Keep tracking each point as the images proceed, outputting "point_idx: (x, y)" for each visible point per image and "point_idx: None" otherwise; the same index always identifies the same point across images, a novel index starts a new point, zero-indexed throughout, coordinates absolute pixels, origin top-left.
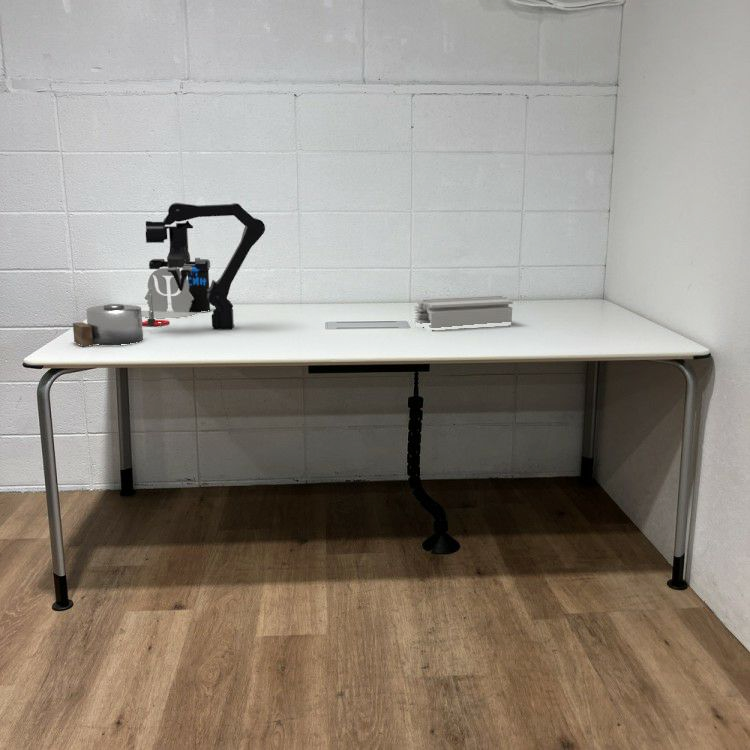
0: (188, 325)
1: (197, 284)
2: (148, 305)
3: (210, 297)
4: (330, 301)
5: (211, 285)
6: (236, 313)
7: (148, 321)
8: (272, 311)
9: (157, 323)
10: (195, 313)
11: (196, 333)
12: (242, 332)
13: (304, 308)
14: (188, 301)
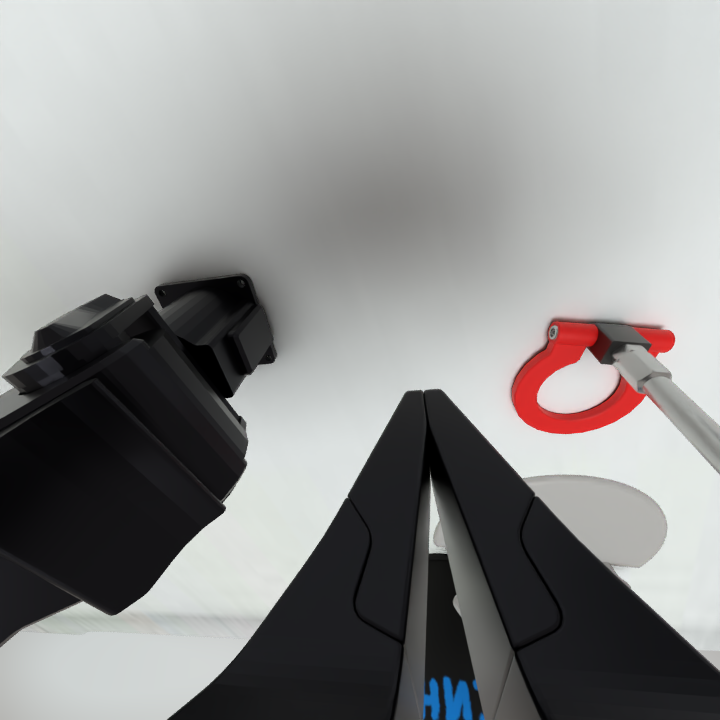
0: (410, 366)
1: (448, 681)
2: (628, 585)
3: (114, 349)
4: (171, 628)
5: (116, 522)
6: (313, 545)
7: (637, 335)
8: (228, 563)
9: (575, 329)
10: (438, 536)
11: (287, 143)
12: (68, 224)
13: (174, 585)
14: None
